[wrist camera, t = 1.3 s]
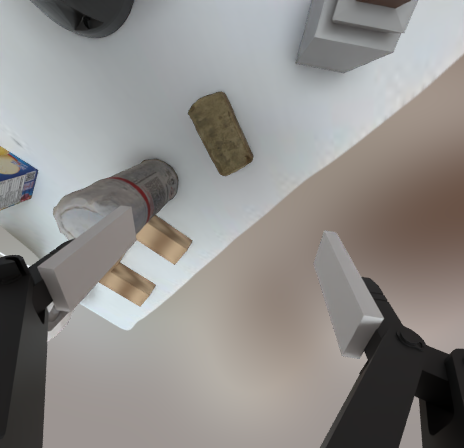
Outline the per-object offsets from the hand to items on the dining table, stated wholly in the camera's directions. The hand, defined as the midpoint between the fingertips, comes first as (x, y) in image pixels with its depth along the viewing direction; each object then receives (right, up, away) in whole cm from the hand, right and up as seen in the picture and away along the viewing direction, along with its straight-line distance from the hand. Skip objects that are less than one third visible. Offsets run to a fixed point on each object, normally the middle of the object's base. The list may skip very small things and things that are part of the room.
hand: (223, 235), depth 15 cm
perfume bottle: (+13, +25, +14) cm, 32 cm away
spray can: (-13, +9, +26) cm, 31 cm away
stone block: (-1, +16, +21) cm, 26 cm away
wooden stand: (-20, -6, +35) cm, 41 cm away
